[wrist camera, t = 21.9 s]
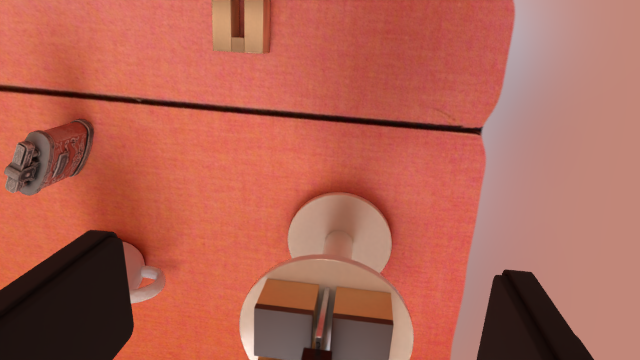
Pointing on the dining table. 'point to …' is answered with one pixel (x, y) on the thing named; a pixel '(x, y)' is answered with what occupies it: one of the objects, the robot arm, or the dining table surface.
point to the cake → (301, 322)
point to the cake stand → (336, 262)
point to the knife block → (228, 26)
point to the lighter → (49, 157)
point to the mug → (141, 275)
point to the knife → (320, 334)
